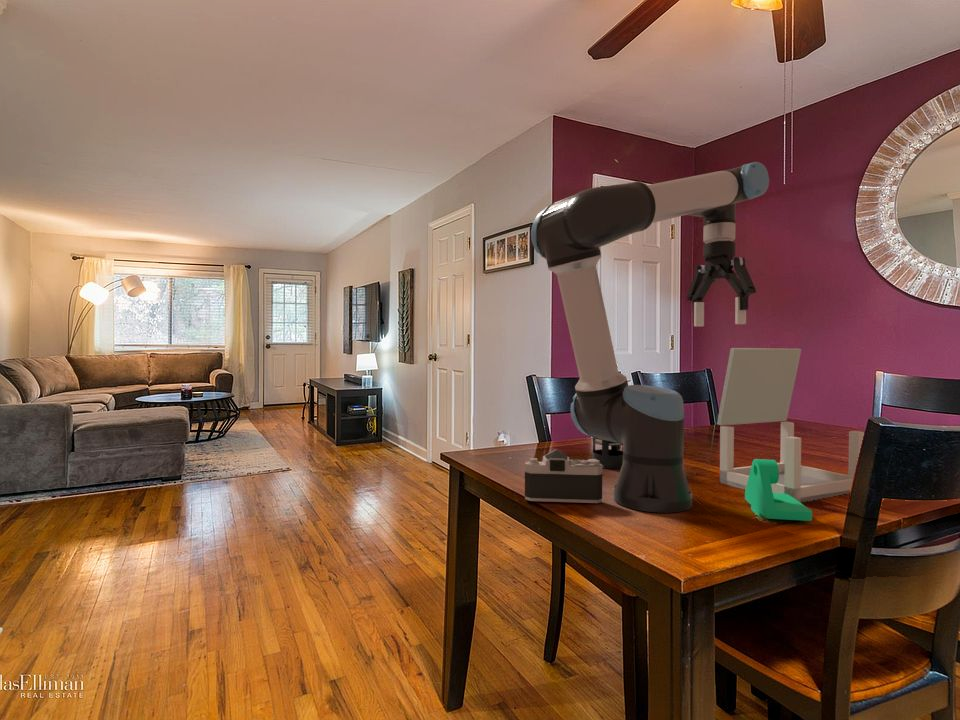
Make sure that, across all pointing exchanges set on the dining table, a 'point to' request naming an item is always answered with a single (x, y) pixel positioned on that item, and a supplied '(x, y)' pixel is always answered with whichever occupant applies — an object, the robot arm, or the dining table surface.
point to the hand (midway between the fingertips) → (718, 325)
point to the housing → (791, 467)
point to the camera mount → (771, 494)
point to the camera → (563, 479)
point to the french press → (608, 454)
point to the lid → (758, 385)
